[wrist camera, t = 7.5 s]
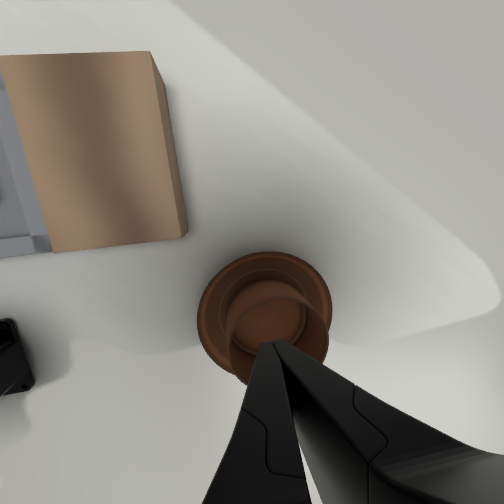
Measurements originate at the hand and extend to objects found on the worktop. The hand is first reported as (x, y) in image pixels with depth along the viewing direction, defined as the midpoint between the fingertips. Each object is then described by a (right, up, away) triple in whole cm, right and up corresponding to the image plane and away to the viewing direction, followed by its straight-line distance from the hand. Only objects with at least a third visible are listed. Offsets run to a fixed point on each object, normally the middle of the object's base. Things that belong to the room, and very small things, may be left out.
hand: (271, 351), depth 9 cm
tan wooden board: (-11, +10, +10) cm, 18 cm away
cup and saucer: (0, -2, +14) cm, 14 cm away
